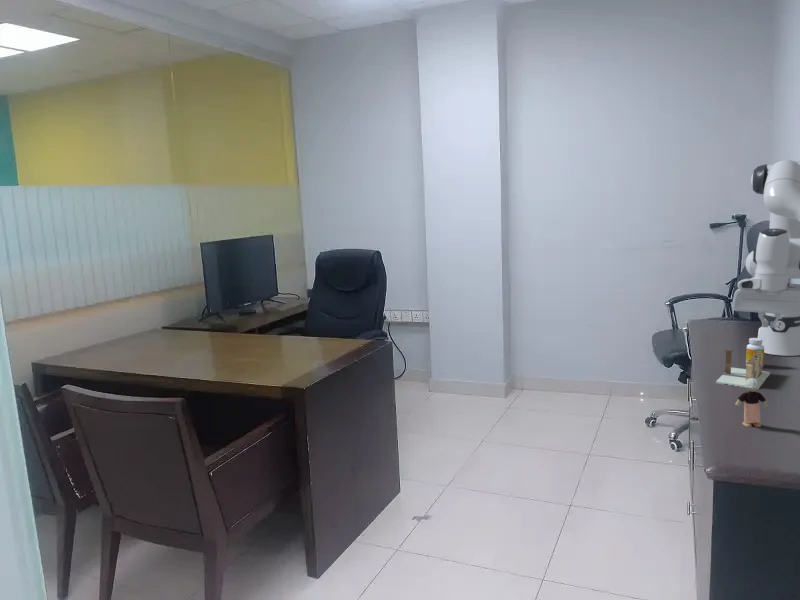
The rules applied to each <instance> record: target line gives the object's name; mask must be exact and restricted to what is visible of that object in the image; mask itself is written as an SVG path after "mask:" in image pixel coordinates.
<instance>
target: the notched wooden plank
mask: <svg viewBox="0 0 800 600" xmlns="http://www.w3.org/2000/svg"><path fill="white" fill-rule="evenodd" d="M756 367H757V360H756V358H751V359H749V361H747V365H746V364H745V369H746V381H747V379H750V378H754V379H756Z"/></svg>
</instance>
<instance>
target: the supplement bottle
mask: <svg viewBox="0 0 800 600" xmlns="http://www.w3.org/2000/svg"><path fill="white" fill-rule="evenodd" d="M748 343H749V344H747V345H746V348H745V349H746V354H745V366H746V365H747V361H749V359H751V358H753V355H755V353H757V351H761V352H762V353H763V358H762V368H763V367H764V364H765V363H764V361H765V353H764V346H763V345H761V344H762V339H760V338H758V337H750V338H748Z"/></svg>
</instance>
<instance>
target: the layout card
mask: <svg viewBox="0 0 800 600" xmlns="http://www.w3.org/2000/svg"><path fill="white" fill-rule="evenodd" d="M770 375H771V372H770V371H763V370H762V372H761V373H760V375H759V376H758V377H757V378H756V379H757V380H758V383H759V384H760V386H759V388H758V389H757V390H759V389H760V388H761V386H762V385H763V384H764V382H765V381H766V380H767V379H766V378H769V376H770ZM745 382H746V368H741V367H740V368H739V367H732V366H731V373H730V374H727V373H725V372H724V373H723V374H722V375H720V377H719V378H718V379H717V380H716V381H715V384H717V385H724V384H728V385H727V386H731V385H734V387H738V386H739V387H740V388H745V389H747V388H746V387H745Z"/></svg>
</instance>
